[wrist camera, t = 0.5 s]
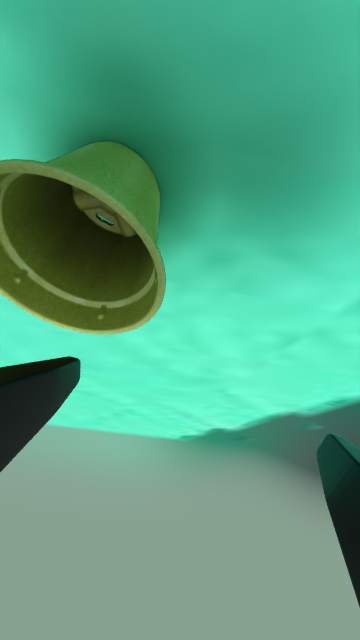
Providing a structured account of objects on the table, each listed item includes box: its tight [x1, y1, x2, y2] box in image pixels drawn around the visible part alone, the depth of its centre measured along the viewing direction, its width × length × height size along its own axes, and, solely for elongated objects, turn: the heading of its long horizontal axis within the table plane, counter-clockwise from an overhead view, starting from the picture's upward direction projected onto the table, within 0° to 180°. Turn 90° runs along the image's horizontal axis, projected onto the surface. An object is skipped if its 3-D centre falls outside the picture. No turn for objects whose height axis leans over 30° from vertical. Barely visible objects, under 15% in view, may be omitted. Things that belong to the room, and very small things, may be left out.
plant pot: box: [0, 141, 166, 334], centre depth 15 cm, size 9×9×9 cm
